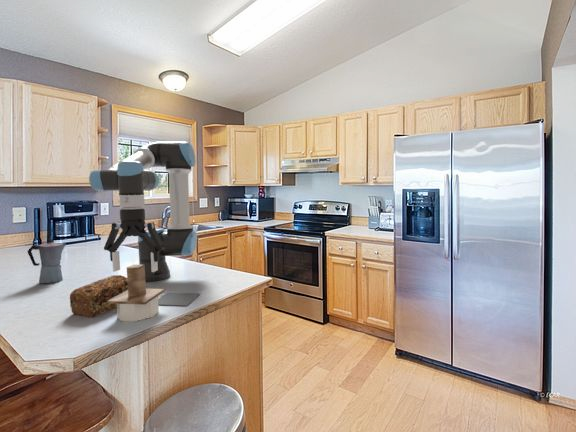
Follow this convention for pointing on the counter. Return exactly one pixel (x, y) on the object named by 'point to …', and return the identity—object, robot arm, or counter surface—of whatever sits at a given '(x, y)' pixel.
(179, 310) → the counter surface
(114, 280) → the bread
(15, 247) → the counter surface
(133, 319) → the bowl
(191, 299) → the mat
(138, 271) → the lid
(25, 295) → the counter surface
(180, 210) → the robot arm
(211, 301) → the counter surface
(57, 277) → the moka pot
